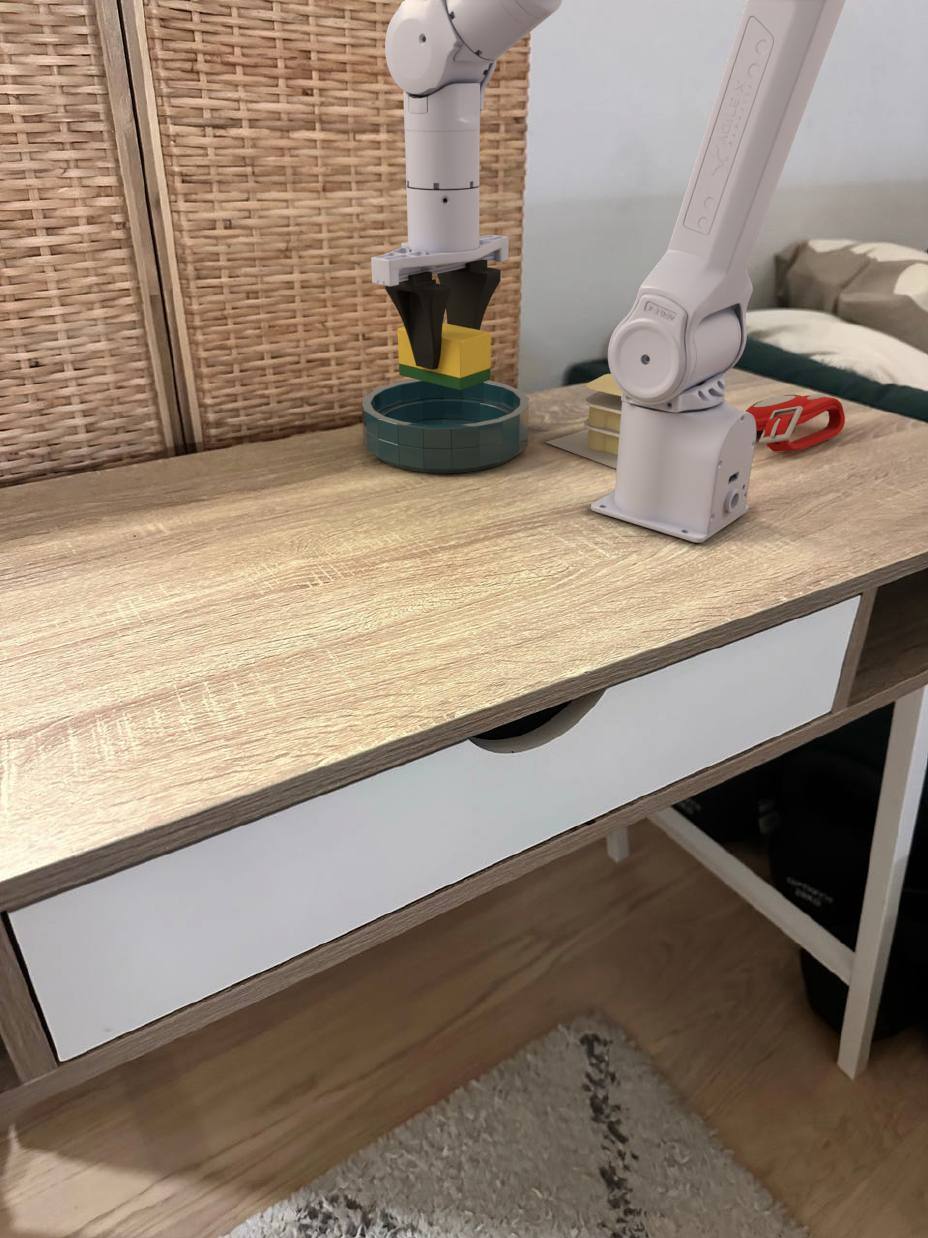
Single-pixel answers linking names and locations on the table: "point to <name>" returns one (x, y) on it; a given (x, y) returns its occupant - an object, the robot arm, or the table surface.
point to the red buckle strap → (795, 419)
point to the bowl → (445, 425)
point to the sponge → (451, 358)
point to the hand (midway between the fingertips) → (445, 361)
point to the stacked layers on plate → (598, 424)
